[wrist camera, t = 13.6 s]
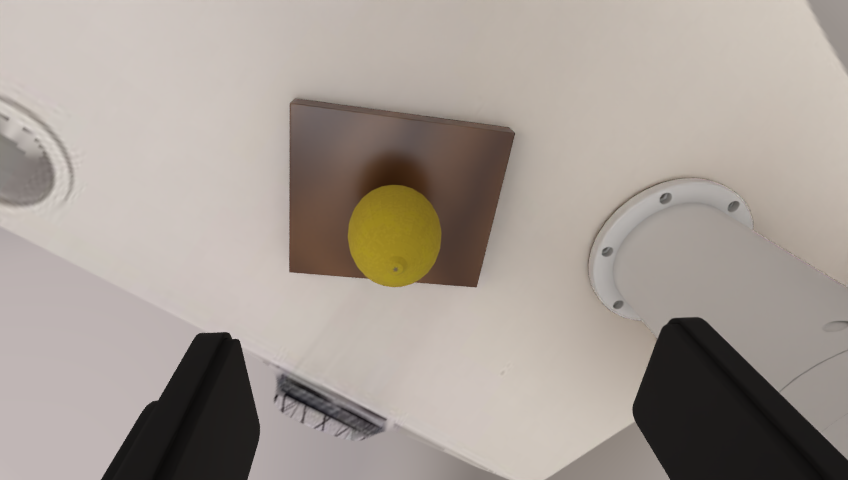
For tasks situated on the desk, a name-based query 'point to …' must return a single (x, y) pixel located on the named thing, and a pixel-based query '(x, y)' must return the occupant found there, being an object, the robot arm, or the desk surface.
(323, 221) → the board
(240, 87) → the desk surface
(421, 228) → the lemon
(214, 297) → the desk surface
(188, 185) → the desk surface
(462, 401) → the desk surface
